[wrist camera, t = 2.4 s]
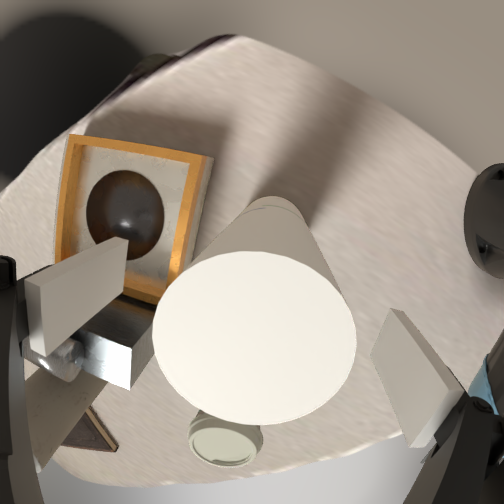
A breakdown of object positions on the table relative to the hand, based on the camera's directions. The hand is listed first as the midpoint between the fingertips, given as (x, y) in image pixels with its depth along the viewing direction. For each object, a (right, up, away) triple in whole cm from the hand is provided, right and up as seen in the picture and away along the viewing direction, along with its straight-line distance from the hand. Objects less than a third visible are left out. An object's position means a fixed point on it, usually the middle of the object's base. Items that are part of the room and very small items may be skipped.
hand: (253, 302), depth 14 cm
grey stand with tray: (-16, +5, +22) cm, 27 cm away
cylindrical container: (+2, +5, +20) cm, 21 cm away
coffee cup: (-2, -16, +26) cm, 31 cm away
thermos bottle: (-23, -12, +27) cm, 38 cm away
